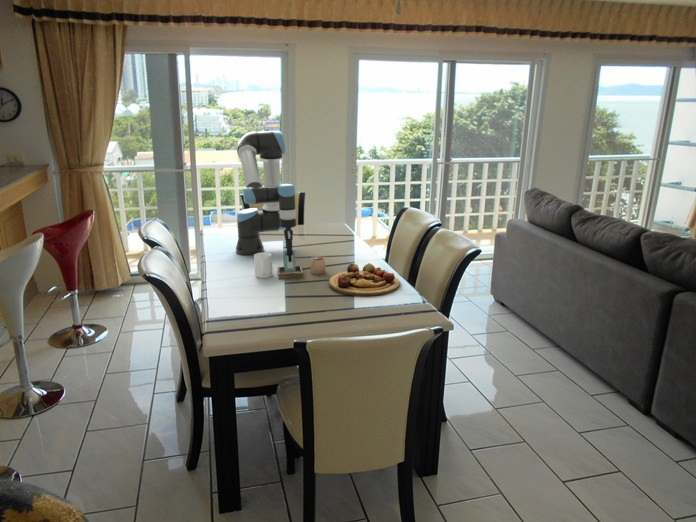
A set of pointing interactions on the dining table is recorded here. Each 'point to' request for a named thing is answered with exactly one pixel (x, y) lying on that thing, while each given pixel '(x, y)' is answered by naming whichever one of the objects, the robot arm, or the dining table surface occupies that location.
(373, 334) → the dining table surface
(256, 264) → the mug
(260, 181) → the robot arm
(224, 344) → the dining table surface
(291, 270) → the teal block
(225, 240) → the dining table surface
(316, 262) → the terracotta pot
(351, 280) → the wooden plate with food
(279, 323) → the dining table surface
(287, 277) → the walnut box
